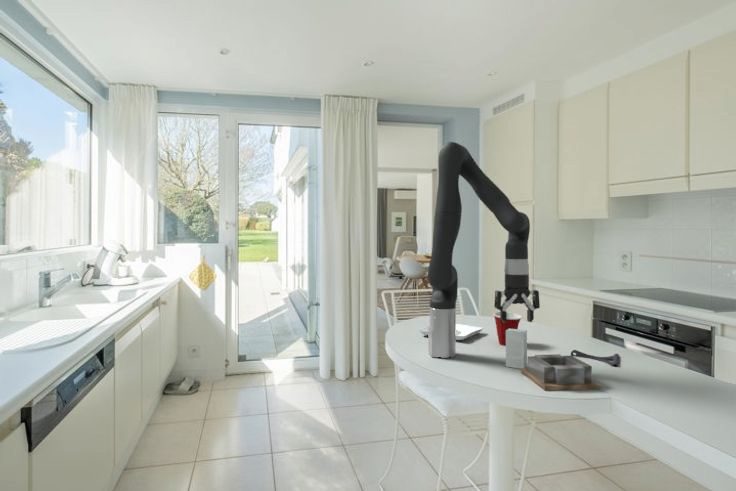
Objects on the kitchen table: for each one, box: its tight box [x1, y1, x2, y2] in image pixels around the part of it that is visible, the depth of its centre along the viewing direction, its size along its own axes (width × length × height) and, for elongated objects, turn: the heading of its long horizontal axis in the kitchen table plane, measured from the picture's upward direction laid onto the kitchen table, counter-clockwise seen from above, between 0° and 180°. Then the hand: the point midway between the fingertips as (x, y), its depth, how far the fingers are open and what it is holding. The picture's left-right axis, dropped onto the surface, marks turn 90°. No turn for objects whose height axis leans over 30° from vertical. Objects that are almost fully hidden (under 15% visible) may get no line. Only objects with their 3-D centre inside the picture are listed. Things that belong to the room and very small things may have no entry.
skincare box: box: [505, 328, 528, 370], centre depth 143 cm, size 6×4×12 cm
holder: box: [520, 353, 601, 391], centre depth 130 cm, size 16×16×6 cm
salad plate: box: [418, 323, 484, 341], centre depth 187 cm, size 21×21×3 cm
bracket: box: [570, 349, 620, 368], centre depth 152 cm, size 14×15×3 cm
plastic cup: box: [492, 311, 523, 347], centre depth 171 cm, size 11×11×12 cm
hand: (517, 321), depth 143 cm, fingers open, 8 cm apart
